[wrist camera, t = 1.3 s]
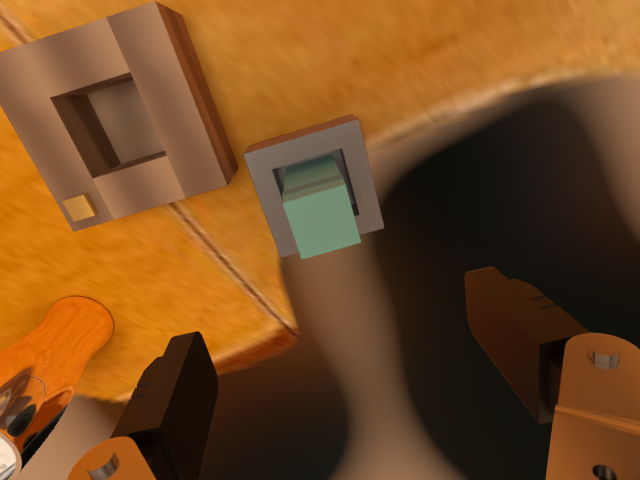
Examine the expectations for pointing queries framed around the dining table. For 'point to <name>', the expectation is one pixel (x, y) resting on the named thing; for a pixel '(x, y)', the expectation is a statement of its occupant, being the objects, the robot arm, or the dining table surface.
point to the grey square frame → (308, 145)
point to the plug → (319, 207)
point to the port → (117, 115)
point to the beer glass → (45, 376)
